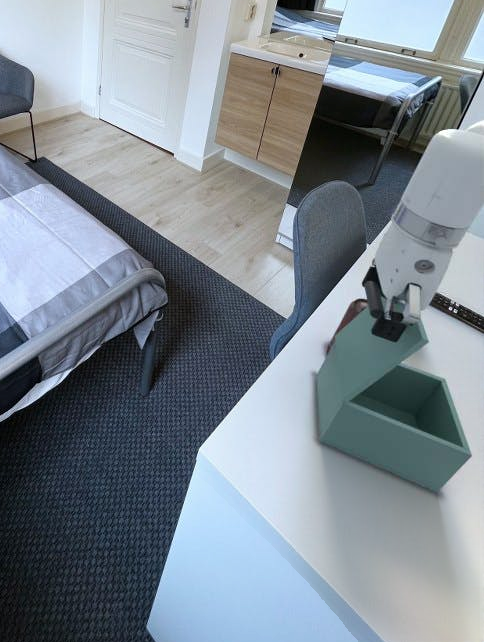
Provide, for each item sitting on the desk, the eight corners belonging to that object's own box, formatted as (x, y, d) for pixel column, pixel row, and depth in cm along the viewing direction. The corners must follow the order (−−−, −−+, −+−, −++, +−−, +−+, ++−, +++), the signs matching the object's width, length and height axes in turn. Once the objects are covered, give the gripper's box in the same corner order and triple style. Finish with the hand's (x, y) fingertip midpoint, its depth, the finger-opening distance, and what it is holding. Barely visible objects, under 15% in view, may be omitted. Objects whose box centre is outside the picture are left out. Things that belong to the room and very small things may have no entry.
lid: (407, 277, 66) (371, 259, 67) (429, 342, 55) (386, 319, 56) (338, 338, 75) (308, 321, 76) (346, 403, 64) (311, 382, 66)
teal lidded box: (416, 416, 75) (445, 378, 70) (436, 493, 65) (472, 456, 60) (315, 376, 80) (335, 338, 75) (319, 441, 70) (343, 403, 65)
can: (324, 361, 83) (350, 313, 77) (328, 339, 88) (353, 291, 81) (358, 379, 80) (389, 330, 74) (361, 355, 85) (389, 307, 78)
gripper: (488, 275, 47) (420, 371, 55) (442, 196, 61) (394, 281, 69) (410, 253, 49) (356, 347, 57) (384, 181, 64) (343, 265, 72)
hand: (377, 311), depth 63 cm, fingers open, 9 cm apart
